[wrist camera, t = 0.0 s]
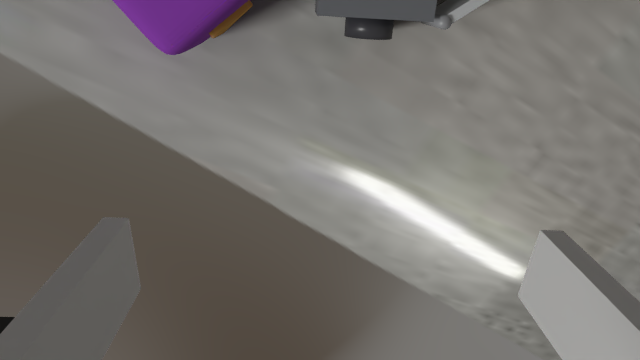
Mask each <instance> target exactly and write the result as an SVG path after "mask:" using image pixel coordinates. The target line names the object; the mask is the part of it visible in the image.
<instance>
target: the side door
mask: <svg viewBox="0 0 640 360" xmlns="http://www.w3.org/2000/svg"><path fill="white" fill-rule="evenodd" d="M487 1H489V0H446V1H445V2H443V3H442V4H440V5H438V6H437V7H436V11H435V17H434V22H423V21H421V22H422V23H423V24H426V25H430V26H433V27H437V28H440V29H448V28H449V27H450V26H451V24H452V23H454V22H455V21H457V20H458V19H460V18H462V17H463V16H465V15H467V14H468V13H470V12H471V11H473V10H475V9H476V8H478V7H479V6H481V5H483V4H484V3H486V2H487Z"/></svg>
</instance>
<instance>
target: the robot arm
mask: <svg viewBox="0 0 640 360" xmlns="http://www.w3.org/2000/svg"><path fill="white" fill-rule="evenodd" d="M140 289H141V286H140V280H139V274H138V268H137V263H136V257H135V251H134V245H133V240H132V234H131V228H130V223H129V218H105V217H103V218H102V219H101V221H100V222H99V223H98V224H97V225H96V226H95V227H94V229H93V230H92V231H91V232H90V233H89V234H88V235H87V236H86V237H85V239H84V240H83V241H82V242H81V243H80V244H79V245H78V247H77V248H76V249H75V250H74V251H73V252H72V253H71V254H70V256H69V257H68V258H67V259H66V260H65V261H64V262H63V263H62V265H61V266H60V267H59V268H58V269H57V270H56V271H55V273H54V274H53V275H52V276H51V277H50V278H49V279H48V280H47V282H46V283H45V284H44V285H43V286H42V287H41V288H40V290H39V291H38V292H37V293H36V294H35V295H34V296H33V297H32V299H31V300H30V301H29V302H28V303H27V304H26V305H25V306H24V308H23V309H22V310H21V311H20V312H19V313H18V314H17V316H16V317H0V360H102V359H103V357H104V355H105V353H106V351H107V350H108V348H109V346H110V344H111V342H112V340H113V339H114V337H115V335H116V333H117V331H118V329H119V328H120V326H121V324H122V322H123V320H124V319H125V317H126V315H127V313H128V311H129V309H130V307H131V306H132V304H133V302H134V300H135V298H136V297H137V295H138V293H139V291H140ZM518 297H519V298H520V300H521V301H522V303H523V304H524V306H525V307H526V308H527V310H528V311H529V313H530V314H531V316H532V317H533V318H534V320H535V321H536V323H537V324H538V326H539V327H540V328H541V330H542V331H543V333H544V334H545V336H546V337H547V338H548V340H549V341H550V343H551V344H552V346H553V347H554V348H555V350H556V351H557V353H558V354H559V356H560V357H561V359H562V360H640V302H639V301H638V300H637V299H636V298H635V297H633V296H632V295H631V294H630V293H629V292H628V291H627V290H626V289H625V288H624V287H623V286H622V285H621V284H620V283H618V282H617V281H616V280H615V279H614V278H613V277H612V276H611V275H610V274H609V273H608V272H607V271H606V270H604V269H603V268H602V267H601V266H600V265H599V264H598V263H597V262H596V261H595V260H594V259H593V258H592V257H591V256H589V255H588V254H587V253H586V252H585V251H584V250H583V249H582V248H581V247H580V246H579V245H578V244H577V243H575V242H574V241H573V240H572V239H571V238H570V237H569V236H568V235H567V234H566V233H565V232H564V231H555V230H540V232H539V235H538V238H537V241H536V244H535V247H534V250H533V253H532V255H531V258H530V261H529V264H528V267H527V270H526V273H525V276H524V279H523V281H522V284H521V287H520V290H519V293H518Z"/></svg>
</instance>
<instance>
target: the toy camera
mask: <svg viewBox="0 0 640 360" xmlns="http://www.w3.org/2000/svg"><path fill="white" fill-rule="evenodd" d="M113 1H114V2H115V3H116V5H117V6H118V7H119V8H120V9H121V10H122V11H123V12H124V13H125V14H126V16H127V17H128V18H129V19H130V20H131V21H132V22H133V23H134V24H135V25H136V27H137V28H138V29H139V30H140V31H141V32H142V33H143V34H144V35H145V36H146V37H147V38H148V39H149V40H150V41H151V42H152V43H153V44H154V45H155V46H156V47H157V48H158V49H159V50H161V51H162V52H164V53H166V54H169V55H176V54H180V53H183V52H185V51H187V50H189V49H191V48H193V47H195V46H197V45H199V44H201V43H202V42H204V41H205V40H207V39H208V38H209V37H210V36H211V37H212V38H215V37H217V36H219V35H221V34H223V33H224V32H225V31H226V30H227V29H229V28H230V27H231V26H232V25H233V24H234V23H235V22H236V21H237V20H238V19H239V18H240V17H241V16H242V15H244V14H245V13H246V12H247V11H248V10H249V9H250V8H251V7H252V6H253V4H252V3H251V0H113Z"/></svg>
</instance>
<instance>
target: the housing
mask: <svg viewBox="0 0 640 360" xmlns="http://www.w3.org/2000/svg"><path fill="white" fill-rule="evenodd" d="M436 5H437V0H316V4H315V12H316V14H317V15H318V16H335V17H346V22H345V36H347V37H352V38H360V39H374V40H388V39H392V31H393V24H394V20H405V21H423V22H434V17H435V11H436Z"/></svg>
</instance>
